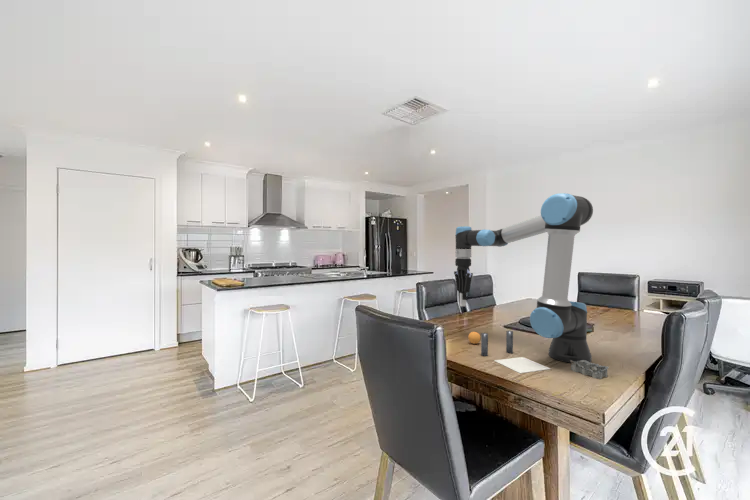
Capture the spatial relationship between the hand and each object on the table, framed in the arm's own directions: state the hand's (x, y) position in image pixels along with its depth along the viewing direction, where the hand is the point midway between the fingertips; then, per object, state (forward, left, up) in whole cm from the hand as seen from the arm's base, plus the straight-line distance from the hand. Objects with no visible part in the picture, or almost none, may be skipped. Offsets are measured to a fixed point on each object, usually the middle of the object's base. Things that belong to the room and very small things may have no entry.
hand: (462, 306), depth 166 cm
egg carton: (-54, -17, -16) cm, 59 cm away
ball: (-10, 0, -13) cm, 16 cm away
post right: (-26, -6, -16) cm, 31 cm away
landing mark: (-40, 0, -16) cm, 43 cm away
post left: (-26, +6, -16) cm, 31 cm away
